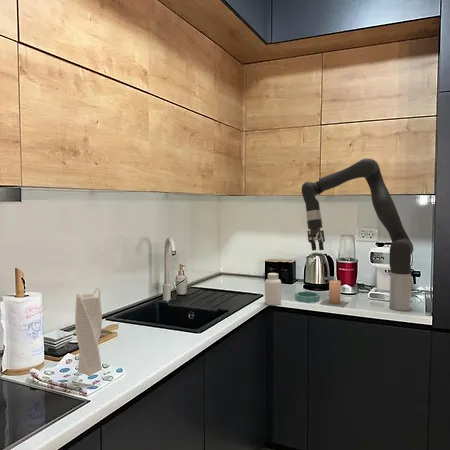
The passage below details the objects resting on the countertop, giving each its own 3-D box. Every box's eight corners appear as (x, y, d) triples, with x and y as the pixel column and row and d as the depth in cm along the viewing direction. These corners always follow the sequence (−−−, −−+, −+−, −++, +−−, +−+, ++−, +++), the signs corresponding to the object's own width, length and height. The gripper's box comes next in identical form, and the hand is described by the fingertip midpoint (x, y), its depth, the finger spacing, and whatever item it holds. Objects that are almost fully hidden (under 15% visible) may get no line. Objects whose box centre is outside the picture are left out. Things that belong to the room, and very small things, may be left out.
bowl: (322, 299, 224) (322, 293, 224) (314, 304, 214) (315, 298, 214) (300, 296, 230) (300, 290, 230) (292, 301, 220) (292, 295, 220)
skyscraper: (110, 377, 131) (108, 285, 129) (95, 388, 123) (93, 291, 121) (85, 374, 133) (83, 284, 131) (69, 385, 125) (67, 289, 123)
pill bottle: (261, 303, 216) (261, 273, 215) (271, 300, 222) (272, 271, 221) (274, 306, 211) (274, 275, 210) (284, 303, 216) (284, 273, 215)
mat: (349, 303, 217) (349, 301, 217) (343, 308, 207) (343, 307, 207) (326, 300, 223) (326, 298, 223) (319, 305, 213) (319, 304, 213)
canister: (341, 302, 216) (342, 280, 215) (338, 305, 211) (339, 282, 210) (330, 301, 219) (331, 279, 218) (327, 303, 214) (328, 281, 213)
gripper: (314, 217, 221) (318, 249, 219) (326, 219, 232) (330, 249, 230) (301, 220, 225) (305, 251, 223) (314, 221, 236) (317, 250, 234)
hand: (318, 250), depth 227 cm, fingers open, 8 cm apart
